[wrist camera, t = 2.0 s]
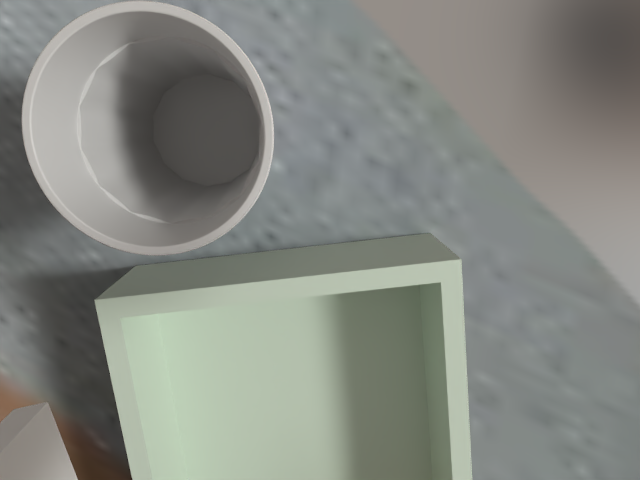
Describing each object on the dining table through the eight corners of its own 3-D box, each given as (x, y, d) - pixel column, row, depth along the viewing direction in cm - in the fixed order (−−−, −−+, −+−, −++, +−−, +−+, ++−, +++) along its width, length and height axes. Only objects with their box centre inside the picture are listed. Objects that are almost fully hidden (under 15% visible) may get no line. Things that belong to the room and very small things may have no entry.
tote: (200, 608, 35) (180, 705, 29) (135, 265, 30) (94, 300, 24) (451, 579, 35) (481, 670, 29) (430, 233, 30) (461, 259, 24)
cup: (234, 230, 30) (189, 299, 18) (111, 149, 28) (-24, 166, 17) (314, 112, 28) (322, 102, 17) (188, 22, 27) (100, -57, 15)
